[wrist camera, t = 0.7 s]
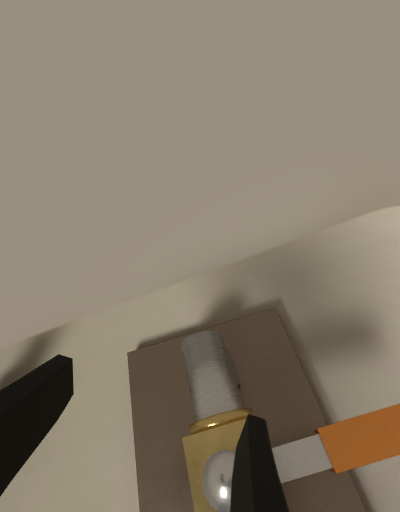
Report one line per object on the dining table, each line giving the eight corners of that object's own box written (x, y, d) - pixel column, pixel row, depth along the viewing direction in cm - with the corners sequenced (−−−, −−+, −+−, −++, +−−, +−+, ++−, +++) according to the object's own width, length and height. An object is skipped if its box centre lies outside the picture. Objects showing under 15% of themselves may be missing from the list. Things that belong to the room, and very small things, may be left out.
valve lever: (212, 516, 16) (208, 521, 15) (201, 457, 18) (196, 457, 16) (422, 453, 16) (435, 452, 15) (390, 399, 17) (400, 395, 16)
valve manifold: (442, 694, 16) (557, 847, 10) (170, 774, 16) (110, 974, 10) (274, 313, 30) (277, 277, 24) (132, 356, 30) (99, 332, 24)
